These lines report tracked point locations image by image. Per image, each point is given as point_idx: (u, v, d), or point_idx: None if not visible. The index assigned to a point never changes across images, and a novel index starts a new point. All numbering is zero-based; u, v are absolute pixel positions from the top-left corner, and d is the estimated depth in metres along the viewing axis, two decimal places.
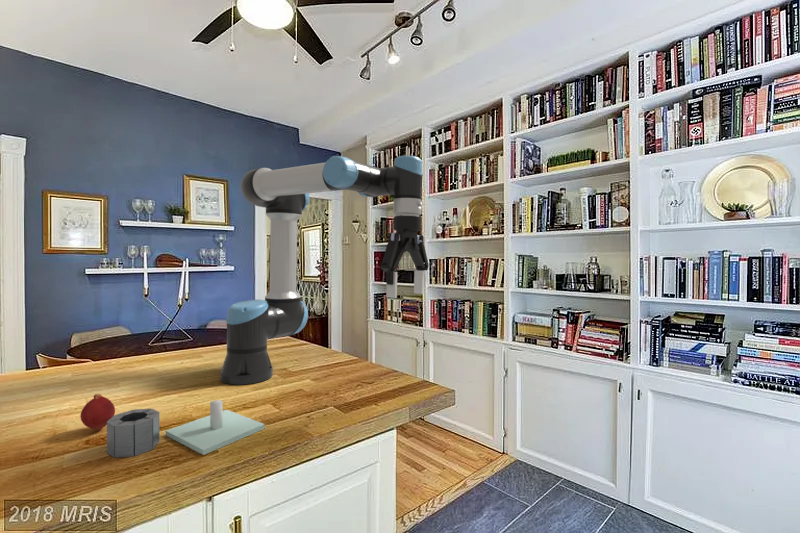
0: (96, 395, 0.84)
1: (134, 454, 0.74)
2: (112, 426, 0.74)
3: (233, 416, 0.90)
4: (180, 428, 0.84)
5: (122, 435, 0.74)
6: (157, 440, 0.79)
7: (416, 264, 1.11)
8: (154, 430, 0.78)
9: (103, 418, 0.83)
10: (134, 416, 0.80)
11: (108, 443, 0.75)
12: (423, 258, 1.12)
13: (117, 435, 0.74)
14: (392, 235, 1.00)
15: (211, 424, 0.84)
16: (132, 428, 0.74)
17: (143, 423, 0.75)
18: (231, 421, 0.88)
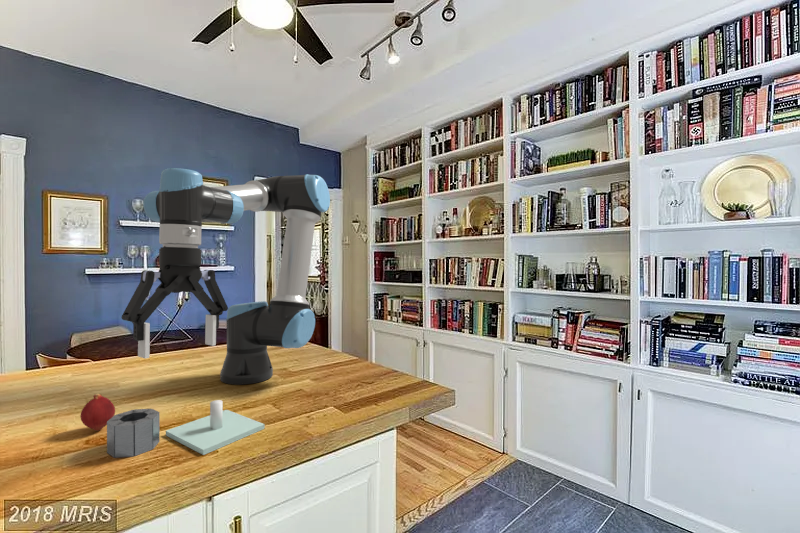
0: (96, 395, 0.84)
1: (134, 454, 0.74)
2: (112, 426, 0.74)
3: (233, 416, 0.90)
4: (180, 428, 0.84)
5: (122, 435, 0.74)
6: (157, 440, 0.79)
7: (206, 307, 0.86)
8: (154, 430, 0.78)
9: (103, 418, 0.83)
10: (134, 416, 0.80)
11: (108, 443, 0.75)
12: (217, 299, 0.87)
13: (117, 435, 0.74)
14: (144, 274, 0.75)
15: (211, 424, 0.84)
16: (132, 428, 0.74)
17: (143, 423, 0.75)
18: (231, 421, 0.88)
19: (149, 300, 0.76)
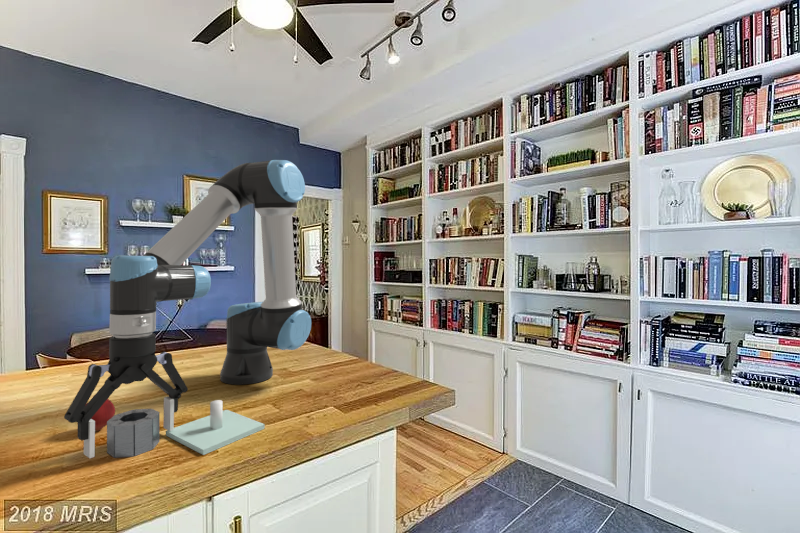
0: None
1: (134, 454, 0.74)
2: (112, 426, 0.74)
3: (233, 416, 0.90)
4: (180, 428, 0.84)
5: (122, 435, 0.74)
6: (157, 440, 0.79)
7: (164, 390, 0.83)
8: (154, 430, 0.78)
9: (103, 418, 0.83)
10: (134, 416, 0.80)
11: (108, 443, 0.75)
12: (175, 381, 0.84)
13: (117, 435, 0.74)
14: (90, 370, 0.71)
15: (211, 424, 0.84)
16: (132, 428, 0.74)
17: (143, 423, 0.75)
18: (231, 421, 0.88)
19: (96, 395, 0.73)
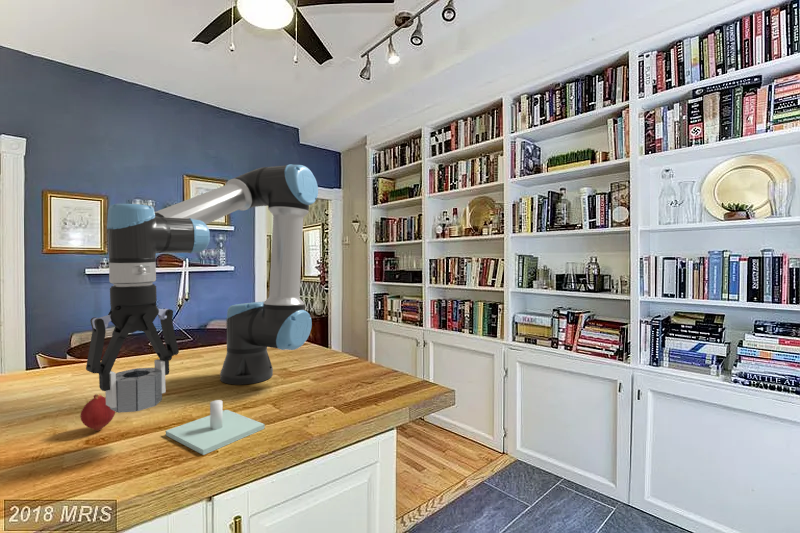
0: (96, 395, 0.84)
1: (137, 409, 0.75)
2: None
3: (233, 416, 0.90)
4: (180, 428, 0.84)
5: (125, 390, 0.74)
6: (160, 398, 0.79)
7: (156, 350, 0.81)
8: (157, 387, 0.78)
9: (103, 418, 0.83)
10: (136, 374, 0.80)
11: None
12: (169, 341, 0.82)
13: (120, 389, 0.74)
14: (93, 323, 0.72)
15: (211, 424, 0.84)
16: (135, 383, 0.74)
17: (146, 379, 0.76)
18: (231, 421, 0.88)
19: (108, 347, 0.74)
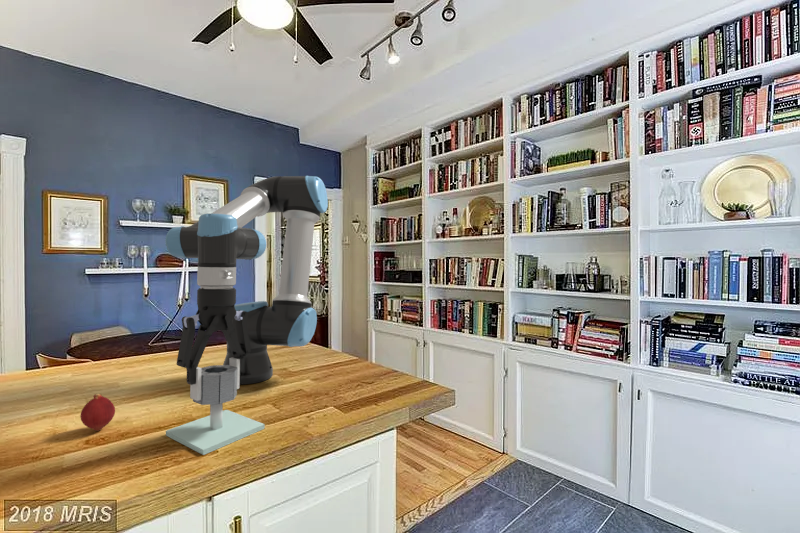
0: (96, 395, 0.84)
1: (219, 402, 0.81)
2: None
3: (233, 416, 0.90)
4: (180, 428, 0.84)
5: (209, 384, 0.80)
6: (235, 393, 0.86)
7: (231, 349, 0.88)
8: (235, 382, 0.84)
9: (103, 418, 0.83)
10: (214, 370, 0.86)
11: None
12: (243, 340, 0.89)
13: (205, 383, 0.80)
14: (184, 322, 0.78)
15: (211, 424, 0.84)
16: (218, 378, 0.81)
17: (227, 374, 0.82)
18: (231, 421, 0.88)
19: (195, 344, 0.81)
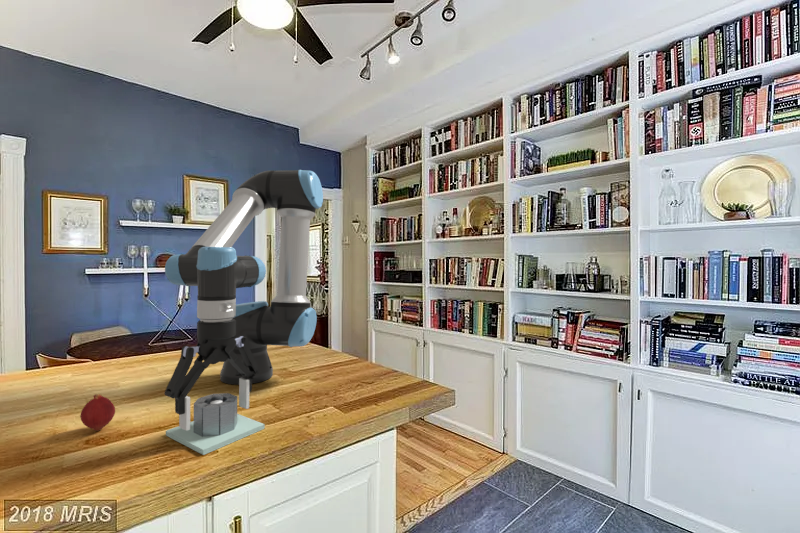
0: (96, 395, 0.84)
1: (219, 433, 0.81)
2: (200, 408, 0.81)
3: None
4: (180, 428, 0.84)
5: (209, 416, 0.81)
6: (236, 422, 0.86)
7: (240, 372, 0.90)
8: (235, 412, 0.85)
9: (103, 418, 0.83)
10: (214, 400, 0.87)
11: (195, 423, 0.82)
12: (250, 363, 0.91)
13: (205, 415, 0.81)
14: (184, 351, 0.79)
15: None
16: (218, 409, 0.81)
17: (227, 405, 0.82)
18: None
19: (189, 374, 0.80)
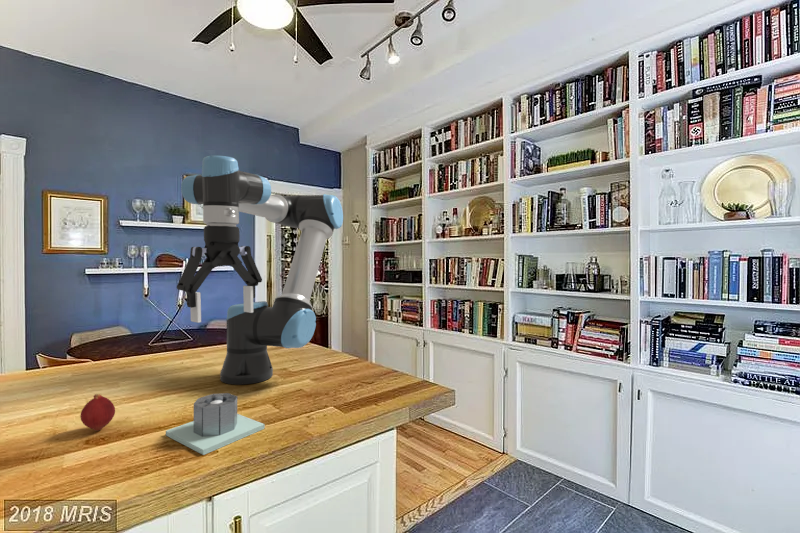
0: (96, 395, 0.84)
1: (219, 433, 0.81)
2: (200, 408, 0.81)
3: None
4: (180, 428, 0.84)
5: (209, 416, 0.81)
6: (236, 422, 0.86)
7: (244, 279, 0.97)
8: (235, 412, 0.85)
9: (103, 418, 0.83)
10: (214, 400, 0.87)
11: (195, 423, 0.82)
12: (253, 272, 0.98)
13: (205, 415, 0.81)
14: (193, 250, 0.85)
15: None
16: (218, 409, 0.81)
17: (227, 405, 0.82)
18: None
19: (198, 272, 0.87)
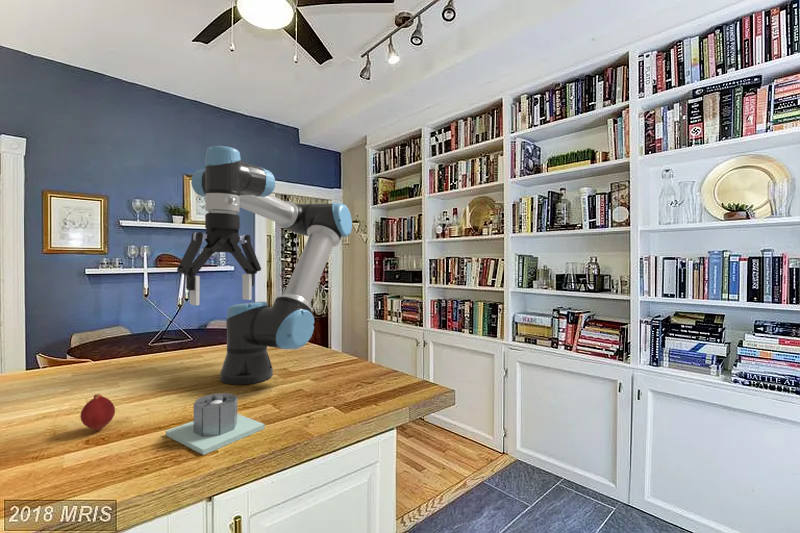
0: (96, 395, 0.84)
1: (219, 433, 0.81)
2: (200, 408, 0.81)
3: None
4: (180, 428, 0.84)
5: (209, 416, 0.81)
6: (236, 422, 0.86)
7: (243, 267, 1.00)
8: (235, 412, 0.85)
9: (103, 418, 0.83)
10: (214, 400, 0.87)
11: (195, 423, 0.82)
12: (252, 260, 1.01)
13: (205, 415, 0.81)
14: (194, 235, 0.89)
15: None
16: (218, 409, 0.81)
17: (227, 405, 0.82)
18: None
19: (198, 257, 0.90)
